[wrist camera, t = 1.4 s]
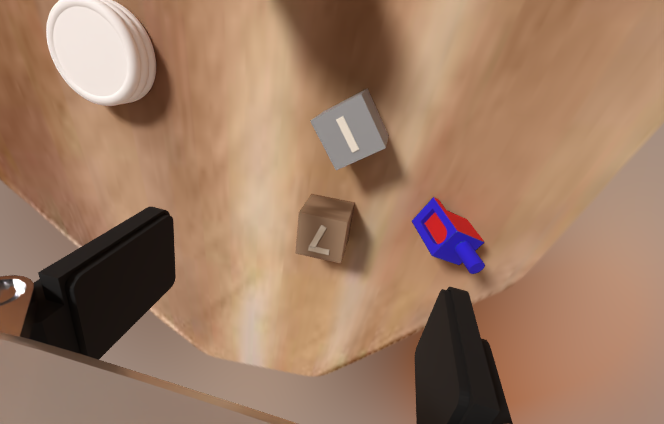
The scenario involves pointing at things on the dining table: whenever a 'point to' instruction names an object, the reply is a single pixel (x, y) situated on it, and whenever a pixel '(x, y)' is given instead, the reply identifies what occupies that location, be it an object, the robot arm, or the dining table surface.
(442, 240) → the toy building block
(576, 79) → the dining table surface
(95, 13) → the white short cylinder
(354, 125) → the numeral one cube
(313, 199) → the numeral seven cube
